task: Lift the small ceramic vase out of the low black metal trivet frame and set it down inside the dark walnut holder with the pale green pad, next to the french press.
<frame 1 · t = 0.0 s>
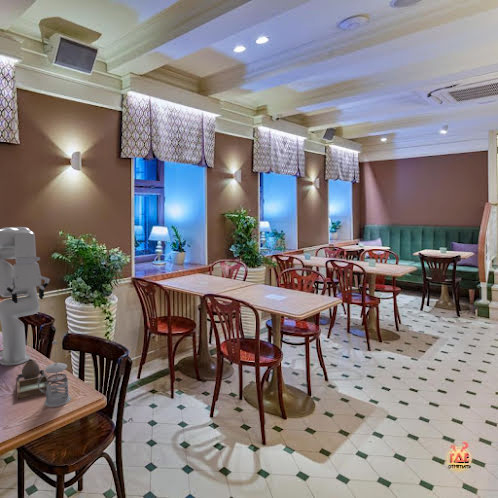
hand: (28, 300, 160), 37 cm above the table, tool pointing down, fingers open, 9 cm apart
trivet frame: (31, 378, 169), on the table
french press: (55, 401, 150), on the table
holder: (33, 390, 159), on the table
vase: (31, 379, 169), resting in trivet frame
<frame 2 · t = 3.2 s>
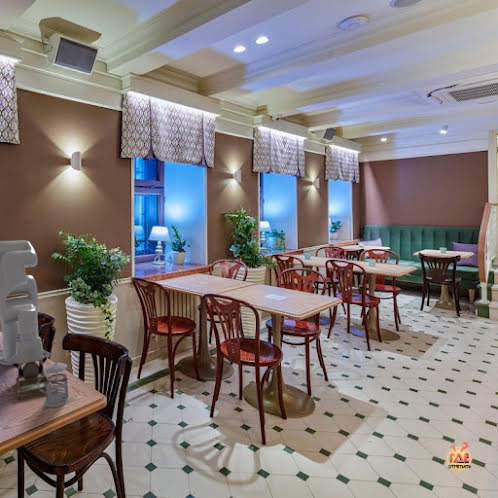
hand: (31, 373, 169), 2 cm above the table, tool pointing down, fingers closed on vase, 6 cm apart
vase: (31, 379, 169), resting in trivet frame, touching gripper
everything else where it was.
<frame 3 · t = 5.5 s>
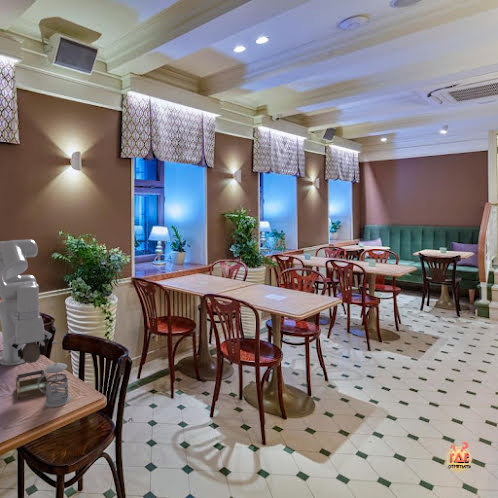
hand: (31, 355, 157), 15 cm above the table, tool pointing down, fingers closed on vase, 6 cm apart
vase: (31, 361, 157), point 13 cm above the table, touching gripper
everything else where it was.
when the fingers open (5 cm above the table, at t = 7.8 s): vase drops 2 cm, resting on holder.
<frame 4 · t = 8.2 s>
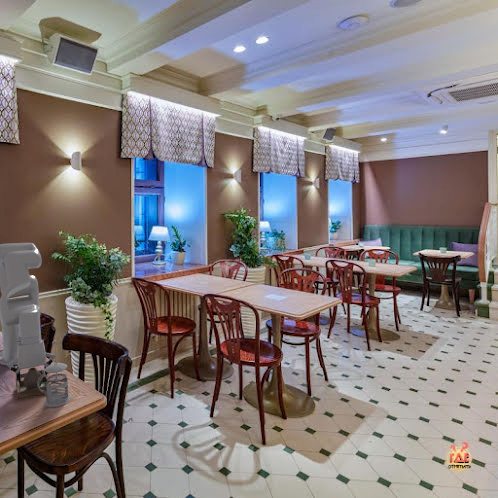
hand: (33, 378, 158), 5 cm above the table, tool pointing down, fingers open, 9 cm apart
vase: (33, 388, 159), point 1 cm above the table, touching holder
everything else where it was.
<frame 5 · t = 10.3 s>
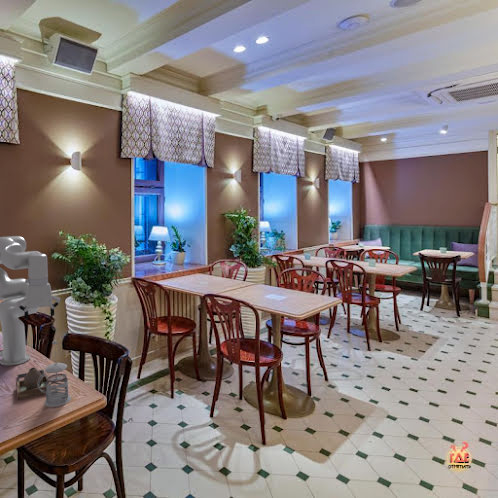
hand: (39, 318, 170), 27 cm above the table, tool pointing down, fingers open, 9 cm apart
nothing on the table moved.
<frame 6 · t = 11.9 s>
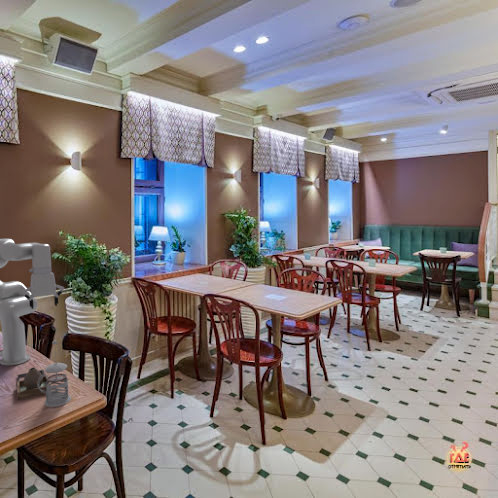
hand: (44, 306, 176), 30 cm above the table, tool pointing down, fingers open, 9 cm apart
nothing on the table moved.
at the end: vase 0.2 cm off-centre on the holder, point 0.5 cm above the holder's base; vase tilted 0°; the gripper is holding nothing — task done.
